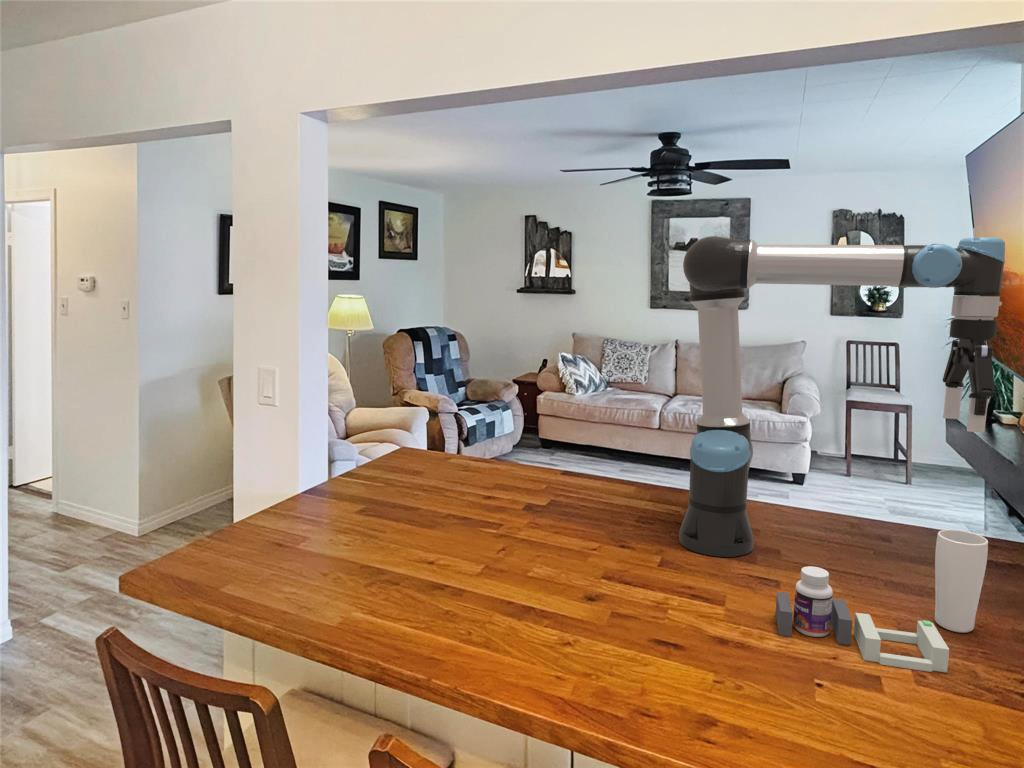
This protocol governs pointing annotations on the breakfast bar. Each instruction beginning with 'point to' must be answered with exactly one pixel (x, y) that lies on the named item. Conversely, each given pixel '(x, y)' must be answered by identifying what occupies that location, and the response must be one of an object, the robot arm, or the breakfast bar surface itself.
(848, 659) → the breakfast bar surface
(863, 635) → the port
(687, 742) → the breakfast bar surface
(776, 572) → the breakfast bar surface
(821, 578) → the pill bottle
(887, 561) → the breakfast bar surface
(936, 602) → the drinking glass
